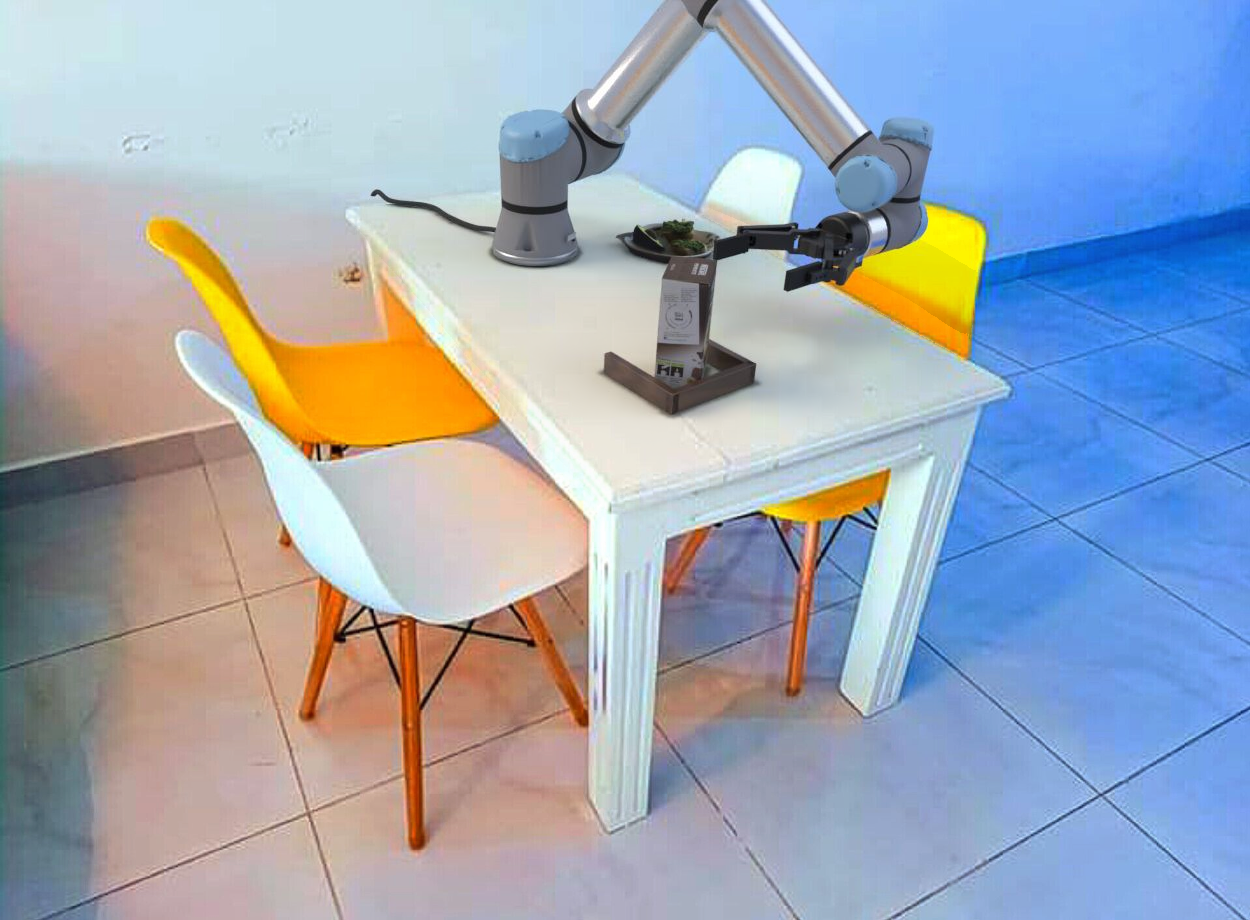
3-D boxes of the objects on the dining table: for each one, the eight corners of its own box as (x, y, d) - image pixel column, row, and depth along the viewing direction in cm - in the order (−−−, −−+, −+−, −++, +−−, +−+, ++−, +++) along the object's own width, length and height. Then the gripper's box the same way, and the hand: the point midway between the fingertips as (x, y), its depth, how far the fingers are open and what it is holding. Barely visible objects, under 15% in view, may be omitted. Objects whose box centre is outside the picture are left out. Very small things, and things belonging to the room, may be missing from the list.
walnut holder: (603, 372, 127) (604, 353, 125) (685, 345, 136) (686, 326, 134) (671, 415, 118) (672, 394, 116) (754, 382, 127) (756, 363, 125)
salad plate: (654, 222, 182) (655, 199, 179) (737, 240, 175) (739, 216, 173) (606, 250, 167) (607, 225, 165) (694, 271, 161) (697, 246, 158)
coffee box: (699, 397, 122) (710, 284, 114) (652, 391, 123) (659, 278, 114) (707, 367, 130) (719, 258, 121) (663, 361, 131) (671, 253, 122)
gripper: (913, 287, 131) (815, 322, 119) (783, 237, 147) (686, 263, 135) (924, 236, 127) (824, 267, 115) (790, 190, 143) (690, 213, 131)
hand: (749, 265), depth 125 cm, fingers open, 13 cm apart
